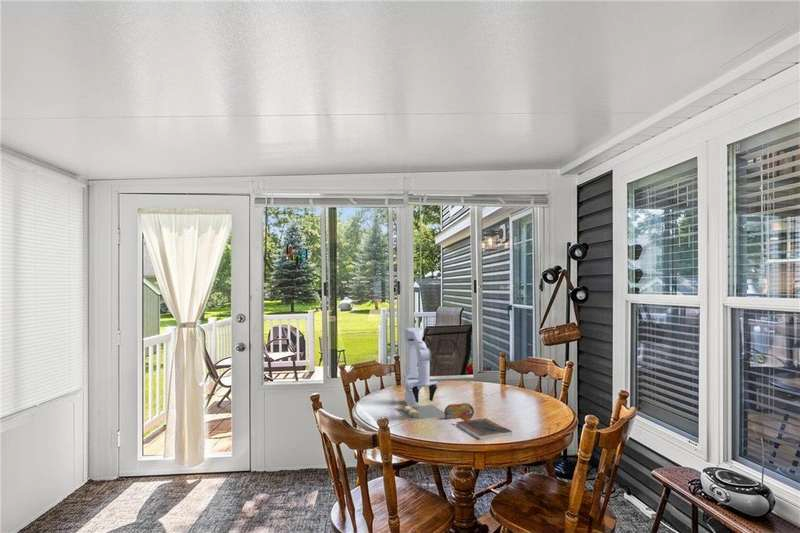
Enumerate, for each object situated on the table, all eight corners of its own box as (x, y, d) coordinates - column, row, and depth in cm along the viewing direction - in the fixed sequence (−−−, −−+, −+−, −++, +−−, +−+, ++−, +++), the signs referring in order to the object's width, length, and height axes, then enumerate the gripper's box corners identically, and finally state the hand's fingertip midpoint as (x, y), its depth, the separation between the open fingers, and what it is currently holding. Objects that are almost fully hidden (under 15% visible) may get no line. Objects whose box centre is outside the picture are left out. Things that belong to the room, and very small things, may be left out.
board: (394, 411, 237) (394, 408, 237) (432, 407, 244) (432, 404, 244) (409, 423, 216) (409, 420, 216) (449, 418, 223) (449, 415, 223)
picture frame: (512, 436, 199) (486, 422, 219) (512, 431, 199) (486, 417, 219) (480, 441, 193) (456, 426, 213) (480, 435, 193) (456, 421, 213)
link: (401, 408, 236) (401, 402, 236) (408, 407, 237) (408, 401, 237) (412, 417, 220) (412, 410, 220) (420, 416, 221) (420, 410, 221)
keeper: (414, 407, 239) (414, 400, 239) (418, 407, 239) (418, 400, 239) (413, 412, 230) (413, 404, 230) (418, 412, 230) (418, 404, 230)
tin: (445, 422, 217) (445, 405, 217) (443, 421, 220) (443, 403, 220) (474, 420, 221) (474, 403, 221) (471, 418, 224) (471, 401, 224)
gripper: (413, 376, 215) (413, 404, 215) (440, 374, 220) (440, 401, 220) (408, 373, 222) (408, 401, 221) (434, 371, 227) (434, 398, 226)
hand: (424, 401), depth 221 cm, fingers open, 7 cm apart
